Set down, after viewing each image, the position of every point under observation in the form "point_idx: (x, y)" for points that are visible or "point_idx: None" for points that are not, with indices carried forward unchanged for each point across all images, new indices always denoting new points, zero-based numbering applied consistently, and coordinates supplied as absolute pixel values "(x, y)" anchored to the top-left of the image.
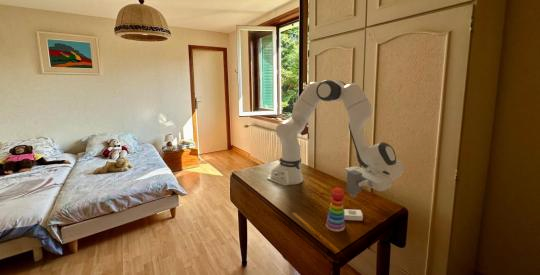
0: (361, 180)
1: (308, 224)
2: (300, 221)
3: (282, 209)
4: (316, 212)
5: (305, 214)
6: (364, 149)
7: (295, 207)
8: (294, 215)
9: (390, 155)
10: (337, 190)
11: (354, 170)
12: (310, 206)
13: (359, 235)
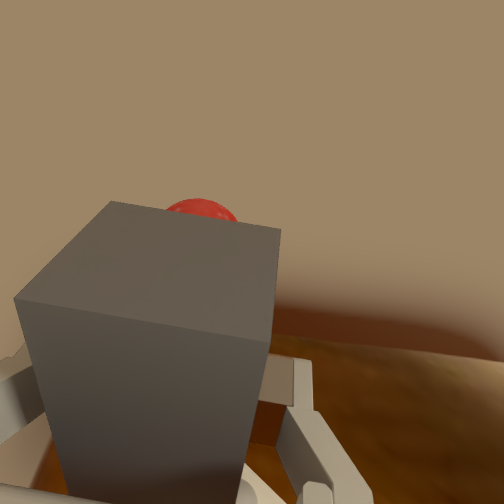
0: (48, 412)
1: (293, 355)
2: (330, 348)
3: (453, 357)
4: (370, 461)
5: (374, 400)
6: None
7: (460, 410)
8: (385, 360)
9: None
10: (189, 199)
11: (238, 319)
12: (452, 487)
13: (47, 463)
